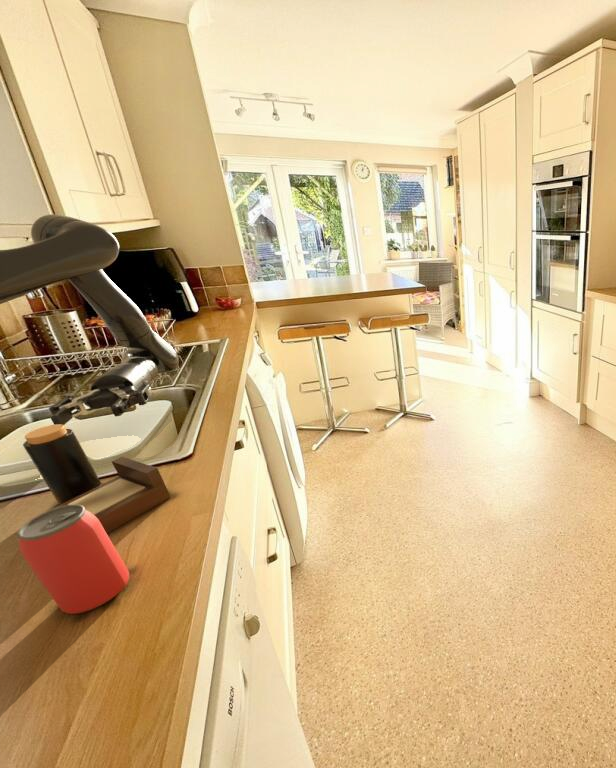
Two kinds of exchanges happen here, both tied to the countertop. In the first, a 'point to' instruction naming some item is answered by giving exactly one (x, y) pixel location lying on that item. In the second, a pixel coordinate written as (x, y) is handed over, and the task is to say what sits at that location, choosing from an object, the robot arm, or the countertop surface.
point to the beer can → (73, 558)
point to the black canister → (61, 462)
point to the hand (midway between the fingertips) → (86, 416)
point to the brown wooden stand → (123, 494)
